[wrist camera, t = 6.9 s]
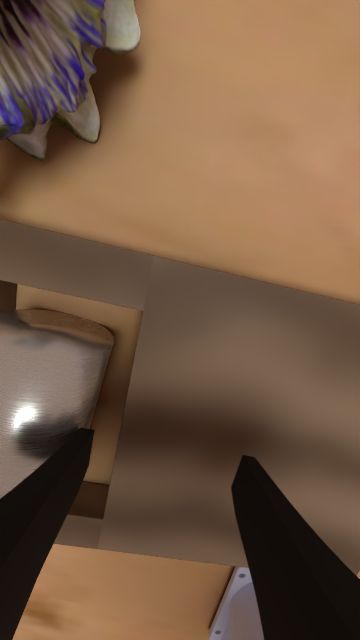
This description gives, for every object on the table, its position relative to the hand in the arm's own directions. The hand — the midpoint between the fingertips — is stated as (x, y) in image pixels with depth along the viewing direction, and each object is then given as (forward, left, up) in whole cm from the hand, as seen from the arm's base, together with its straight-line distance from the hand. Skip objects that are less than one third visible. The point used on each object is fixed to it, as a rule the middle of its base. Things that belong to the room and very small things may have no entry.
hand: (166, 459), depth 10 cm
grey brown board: (0, -1, -3) cm, 4 cm away
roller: (0, +7, -1) cm, 7 cm away
